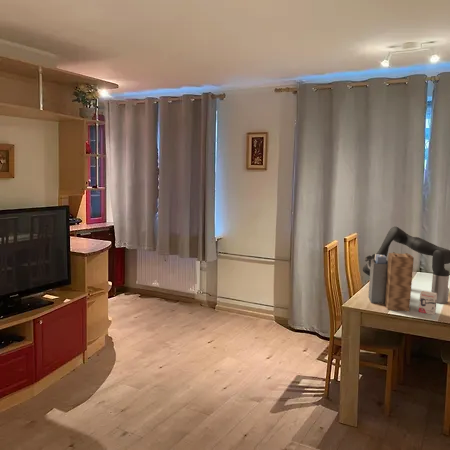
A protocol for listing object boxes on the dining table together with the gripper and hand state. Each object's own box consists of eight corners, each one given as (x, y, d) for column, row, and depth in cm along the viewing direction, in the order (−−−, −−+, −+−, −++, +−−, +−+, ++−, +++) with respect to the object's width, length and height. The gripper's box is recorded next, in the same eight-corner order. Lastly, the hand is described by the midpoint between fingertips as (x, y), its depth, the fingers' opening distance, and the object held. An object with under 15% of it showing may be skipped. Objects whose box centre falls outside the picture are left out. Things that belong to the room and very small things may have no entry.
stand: (405, 305, 284) (409, 252, 280) (409, 311, 273) (413, 255, 269) (384, 304, 286) (388, 251, 282) (387, 309, 275) (392, 254, 271)
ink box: (418, 312, 273) (420, 292, 271) (420, 309, 277) (421, 290, 275) (434, 314, 268) (435, 295, 267) (435, 312, 272) (437, 293, 271)
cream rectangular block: (380, 258, 308) (380, 249, 307) (385, 265, 286) (386, 256, 286) (372, 257, 309) (373, 249, 308) (377, 264, 287) (377, 255, 286)
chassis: (384, 297, 301) (386, 259, 298) (387, 304, 287) (390, 264, 283) (367, 296, 303) (370, 258, 300) (371, 302, 288) (373, 263, 285)
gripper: (363, 257, 321) (366, 249, 306) (384, 259, 319) (389, 250, 303) (363, 268, 319) (366, 260, 303) (384, 269, 316) (389, 261, 300)
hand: (377, 255), depth 303 cm, fingers closed on cream rectangular block, 3 cm apart
